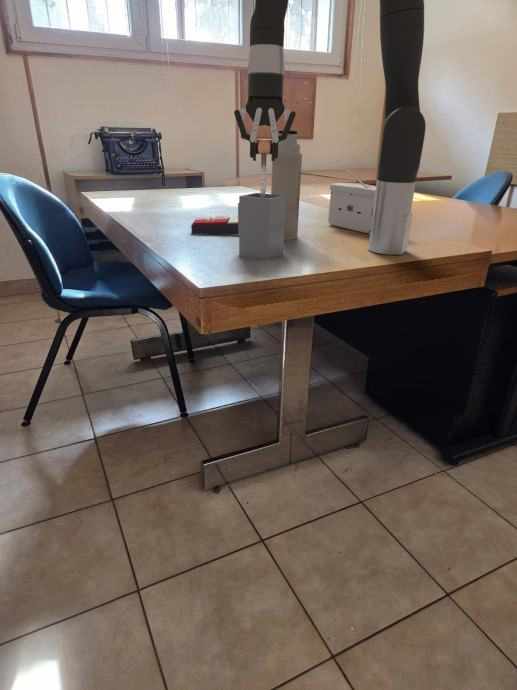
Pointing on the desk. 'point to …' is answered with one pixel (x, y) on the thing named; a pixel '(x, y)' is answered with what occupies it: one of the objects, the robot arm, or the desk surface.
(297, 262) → the desk surface
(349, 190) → the stereo radio cassette player
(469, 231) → the desk surface
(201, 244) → the desk surface
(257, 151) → the plunger
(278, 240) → the grey hexagonal pencil cup
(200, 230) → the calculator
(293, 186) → the thermos bottle
